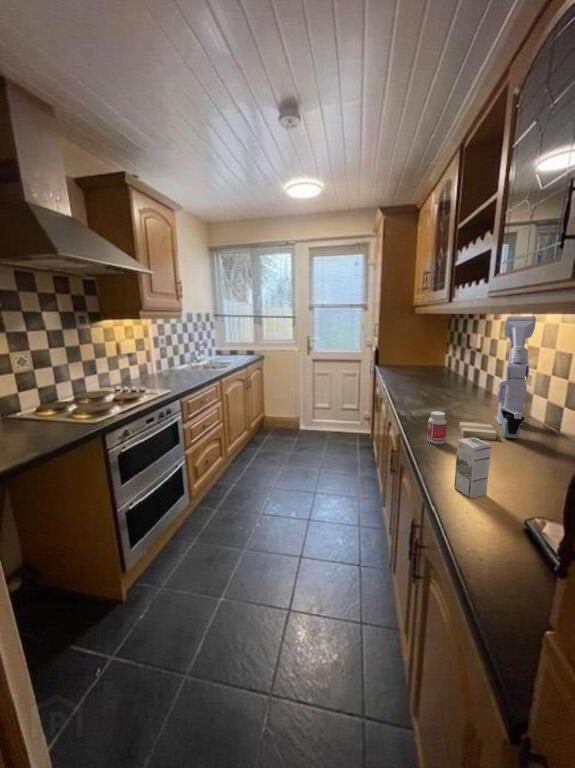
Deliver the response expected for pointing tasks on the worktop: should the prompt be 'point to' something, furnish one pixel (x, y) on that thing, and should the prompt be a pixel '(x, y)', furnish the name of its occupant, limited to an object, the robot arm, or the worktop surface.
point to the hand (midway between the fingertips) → (510, 431)
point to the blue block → (505, 430)
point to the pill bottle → (437, 428)
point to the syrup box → (472, 466)
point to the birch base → (478, 430)
